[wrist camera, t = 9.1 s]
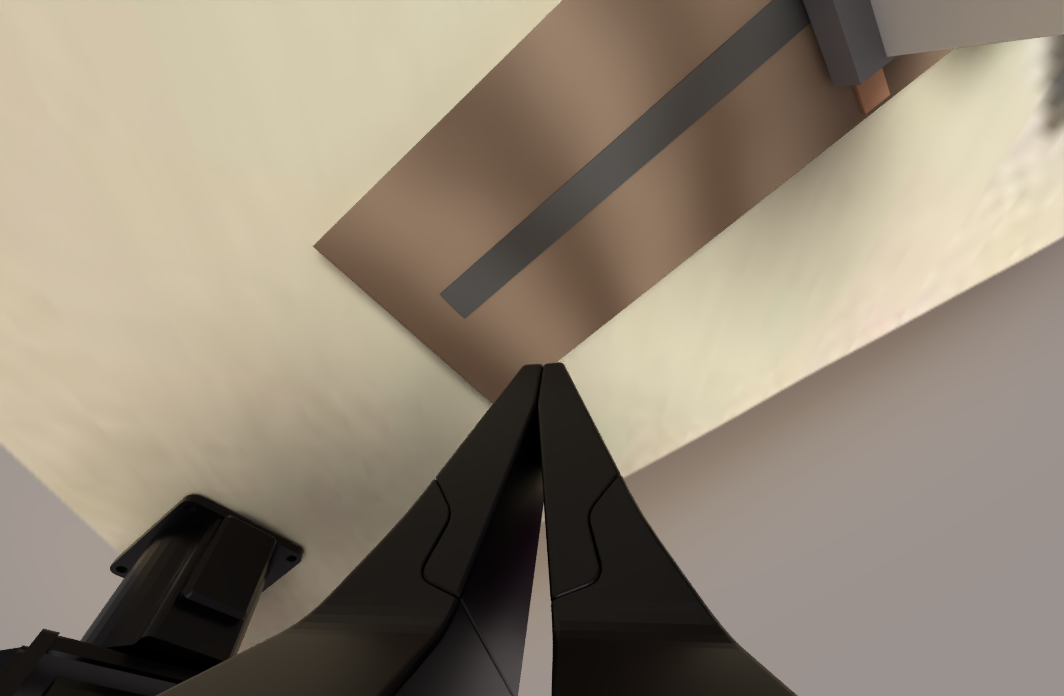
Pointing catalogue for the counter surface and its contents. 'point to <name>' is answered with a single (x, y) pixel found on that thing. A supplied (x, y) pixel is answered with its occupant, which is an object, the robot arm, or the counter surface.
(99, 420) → the counter surface
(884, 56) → the fader tab
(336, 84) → the counter surface
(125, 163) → the counter surface
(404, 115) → the counter surface
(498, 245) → the slider base
